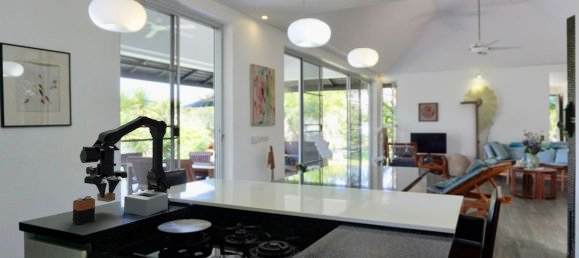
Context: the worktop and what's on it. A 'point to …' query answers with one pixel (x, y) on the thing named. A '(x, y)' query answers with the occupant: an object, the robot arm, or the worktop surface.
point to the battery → (84, 210)
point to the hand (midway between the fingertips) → (106, 196)
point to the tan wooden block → (106, 197)
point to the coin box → (145, 203)
